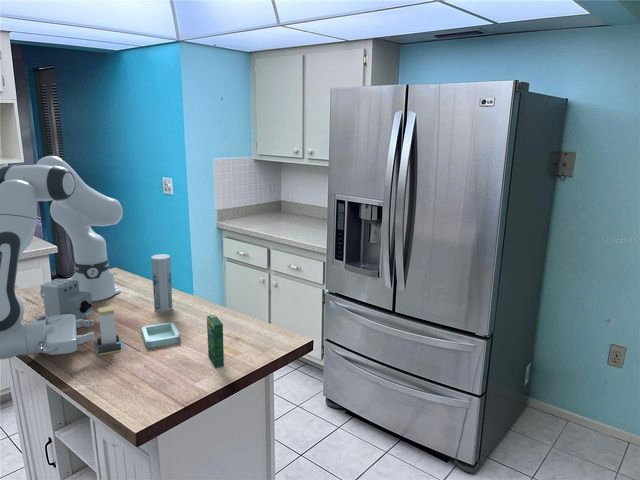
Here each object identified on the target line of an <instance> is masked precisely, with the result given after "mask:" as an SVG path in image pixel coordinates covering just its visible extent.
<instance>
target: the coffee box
mask: <svg viewBox="0 0 640 480" xmlns="http://www.w3.org/2000/svg"><path fill="white" fill-rule="evenodd" d="M206 327H207V328H206V329H207V331H206V333H207V351H208V353H207V354H208V358H209V359H210V361H211V364H212V365H213V367H214V368H215V369H218V368H219V369H220V368H223V367H224V366H225V360H224V359H225V358H224V356H225V354H224V323H223V322H222V321H221V320H220V318H219V317H218V316H217V315H216V314H211V315H210V314H209V315H207V316H206Z"/></svg>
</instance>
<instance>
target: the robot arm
mask: <svg viewBox="0 0 640 480" xmlns="http://www.w3.org/2000/svg"><path fill="white" fill-rule="evenodd" d="M48 201H49V202H50V201H52V202H51V204H50V206H49V214H50V216H51V218H52V219H53V221H54V222H56V224H58V225H60V227H62V228H63V230H64V231H65V232H66V233H67V235H68V236H69V238H70V240H71V243H72V247H73V255H74V262H73V268H74V274H73V275H72V276H71V277H70V280H77V281H78V284H79V291H81V292H90V293H91V298H92V302H97V301H102V300H106V299H109V298H111V297H113V296H114V295H117V294H120V293H121V292H122V291H121V289H120V288H119V287H118V286H117V285H116V284H115V274H114V273H113V271H111V270H110V262H109V259H108V255H107V253H108V252H107V242H106V240H105V238H104V237H103V236H102V235H100V234H98V233H96V232H95V230H93V229H92V227H108V226H113V225H117V224H118V223H120V221H121V220H122V218H123V216H124V215H123V214H124V210H123V206H122V204H121V203H120V201H119V200H118V199H116V198H113V197H109V196H107V195H105V194H102V193H101V192H99V191H97V190H96V189H94V188H92V187H91V186H89V185H88V184H86V183H85V182H84V180H83V179H82V178H81V177H80V175H78V173H77V172H76V171H75V170H74V169H73V168H72V167H71V165H69V163H67V162H66V161H65V160H63V159H62V158H60V157H59V156H56V155H47V156H44V157H41V158H40V159H39V160H37V162H36V164H27V165H24V164H22V165H14V164H12V165H6V166H3V167H1V168H0V360H6V359H11V358H14V357H17V356H23V355H24V356H31V355H37V354H48V355H50V356H53V355H62V354H63V355H65V354H71V353H74V352H76V351H78V345H82V344H83V343H85V342H89V341H92V340H95V338H96V334H95V332H94V331H89V332H87V333H84V334H82V335H81V334H78V333H77V332H78V331H77V330H78V328H79V329H80V328H81V327H87V328H92V327H93V326H94V320H93V319H78V320H76V315H74V314H64V315H55V316H50V317H47V316H46V315H45V314H44V315H45V316H44V315H40V316H38V317H37V318H36V319H35V320H33V321H32V322H28V323H23V319H24V315H25V304H24V301H22V299H21V298H20V297H19V296H17V295H16V292H15V289H16V282H17V274H18V267H19V262H20V258H21V256H22V254H23V253H24V251H25V250H26V249H27V248H28V247H29V246H30V245H31V244H32V242H33V238H34V235H35V231H36V227H37V221H38V220H37V219H38V202H48ZM77 334H78V335H77Z"/></svg>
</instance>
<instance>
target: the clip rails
mask: <svg viewBox="0 0 640 480" xmlns="http://www.w3.org/2000/svg"><path fill="white" fill-rule="evenodd" d="M96 338H97V339H96V340H95V341H93V346H94V355H95V357H98V356H103V355H109V354H114V353H116V354H117V353H121V352H125V351H126V349H125V345H124V341H123V337H122V336H119V334H118V333H116V343H111V344H105V345H101V336H97V337H96Z"/></svg>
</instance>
